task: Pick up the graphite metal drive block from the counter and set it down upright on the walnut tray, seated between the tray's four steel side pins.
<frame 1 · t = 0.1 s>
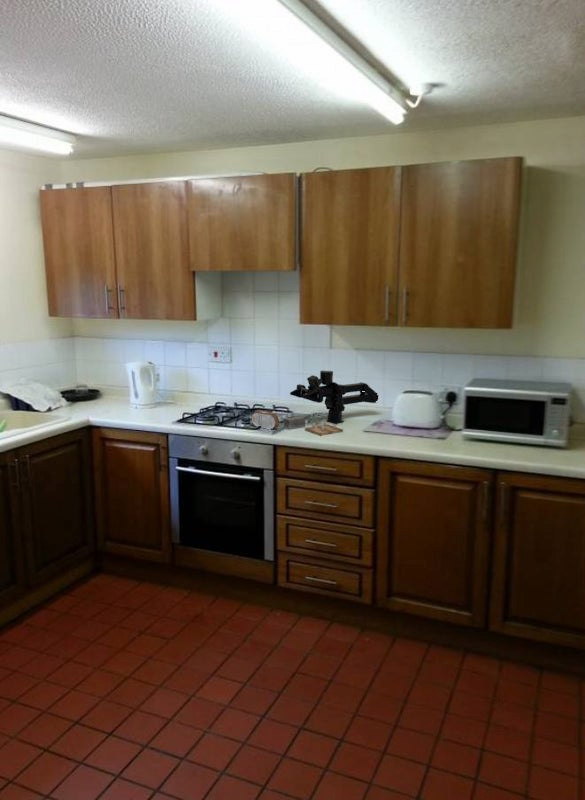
hand: (295, 395, 311), 17 cm above the countertop, tool horizontal, fingers open, 9 cm apart
drive: (294, 428, 316), on the countertop
pin tray: (323, 431, 310), on the countertop
tin: (264, 428, 314), on the countertop
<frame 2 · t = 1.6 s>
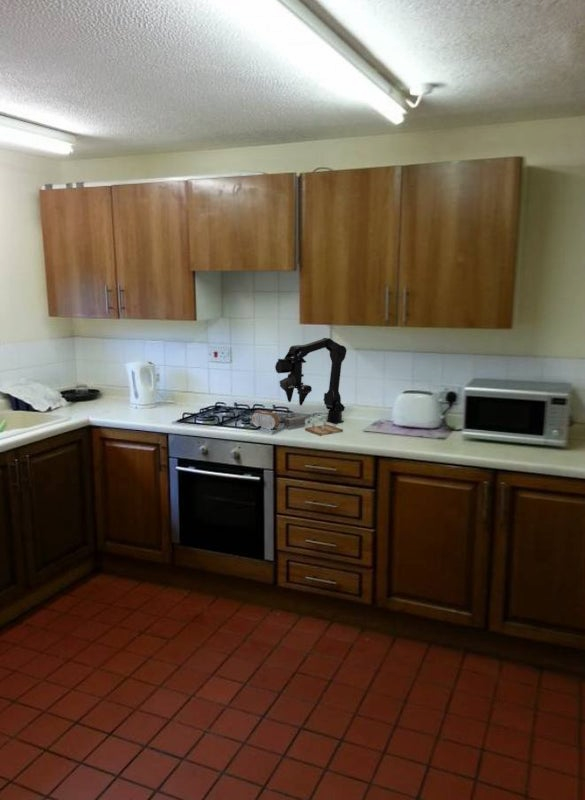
hand: (295, 403, 313), 12 cm above the countertop, tool pointing down, fingers open, 9 cm apart
nothing on the countertop moved.
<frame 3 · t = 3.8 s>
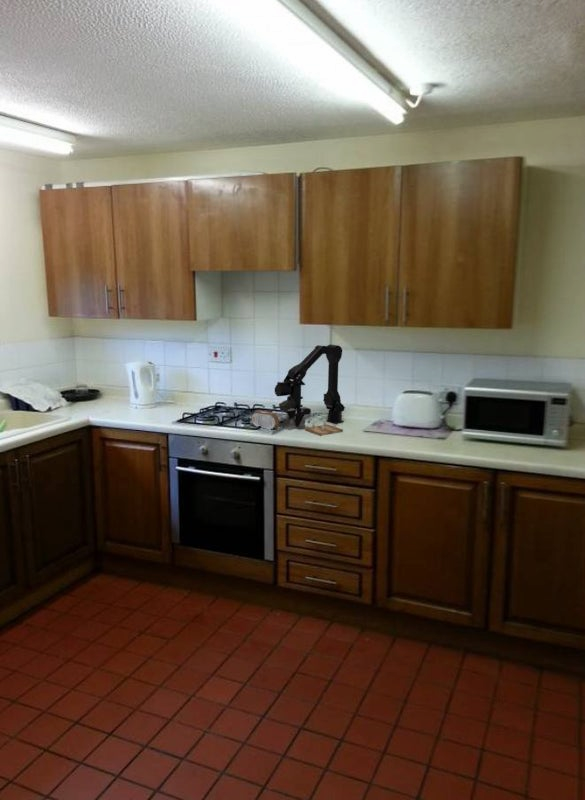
hand: (294, 425, 316), 1 cm above the countertop, tool pointing down, fingers closed on drive, 4 cm apart
drive: (294, 427, 316), on the countertop, touching gripper
everything else where it was.
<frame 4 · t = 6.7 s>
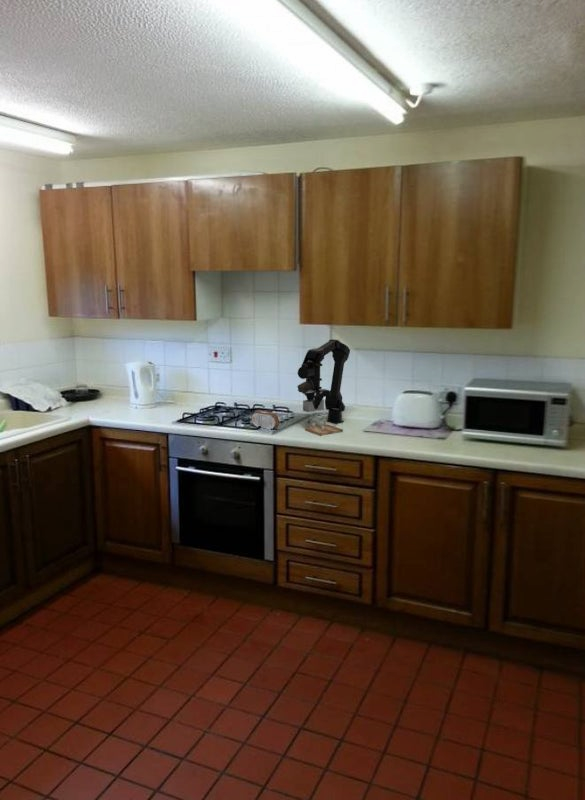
hand: (313, 408, 310), 11 cm above the countertop, tool pointing down, fingers closed on drive, 4 cm apart
drive: (313, 410, 310), point 10 cm above the countertop, touching gripper
everything else where it was.
when the fingers open (3 cm above the countertop, at t = 9.7 s): drive drops 1 cm, resting on pin tray.
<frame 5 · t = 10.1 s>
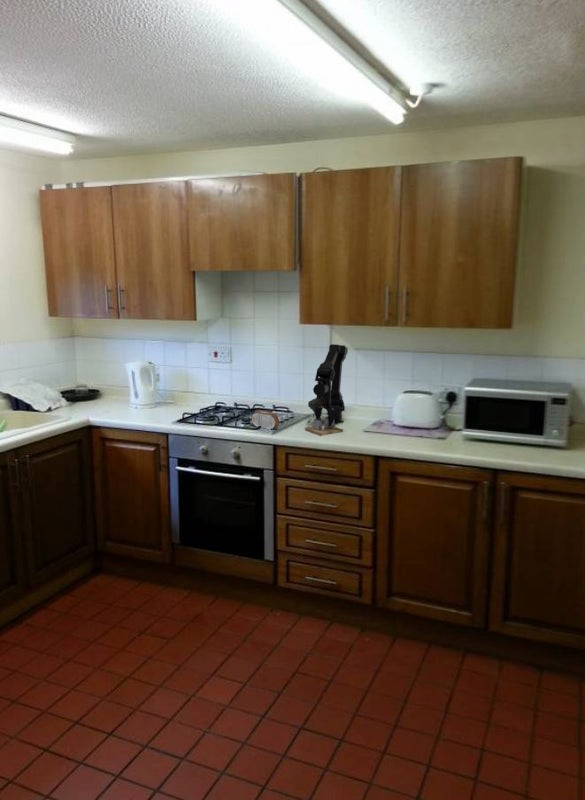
hand: (324, 424, 309), 3 cm above the countertop, tool pointing down, fingers open, 9 cm apart
drive: (323, 428, 310), point 1 cm above the countertop, touching pin tray
everything else where it was.
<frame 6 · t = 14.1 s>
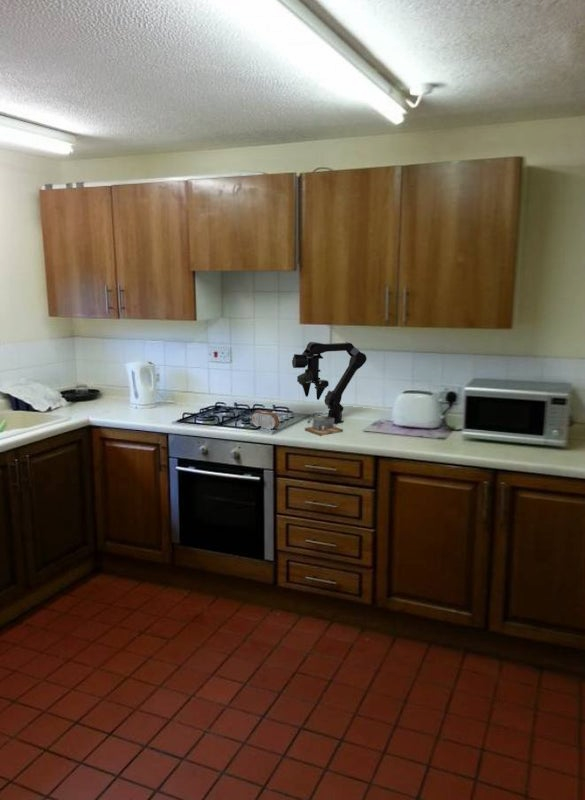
hand: (312, 398, 323), 13 cm above the countertop, tool pointing down, fingers open, 9 cm apart
nothing on the countertop moved.
at the end: drive 0.1 cm off-centre on the pin tray, point 1.2 cm above the pin tray's base; drive tilted 0°; the gripper is holding nothing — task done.
